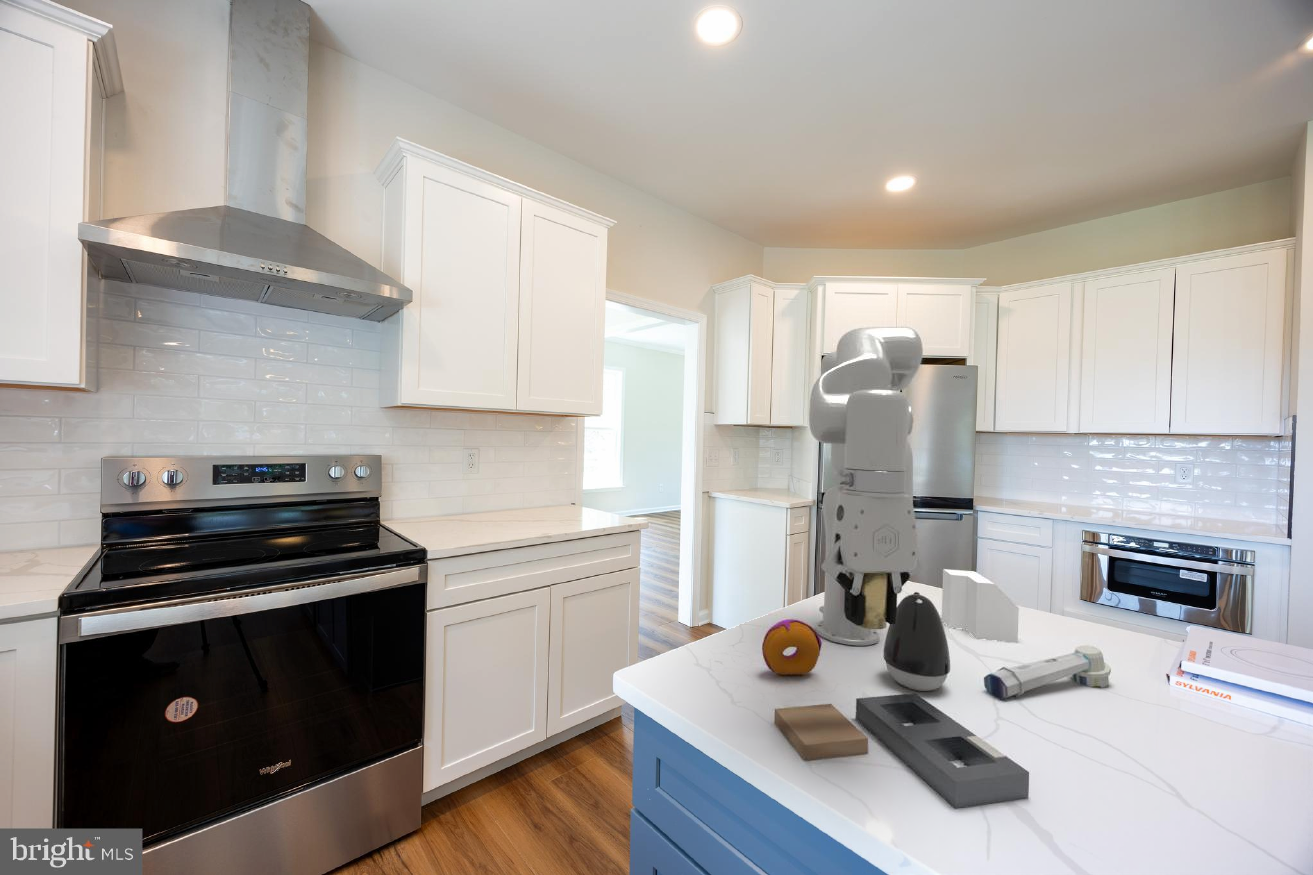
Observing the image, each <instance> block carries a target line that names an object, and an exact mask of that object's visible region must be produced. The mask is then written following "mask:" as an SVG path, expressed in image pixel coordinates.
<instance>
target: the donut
mask: <svg viewBox="0 0 1313 875" xmlns="http://www.w3.org/2000/svg"><path fill="white" fill-rule="evenodd" d="M820 637H821V636H820V635H819V634H818V633H817V632H816V629H814V628H813V627H812V626H811V625H810V624H808V623H807V622H804V621H802V620H800V619H799V620H798V619H795V618H790V619H789V618H788V619H784V620H781V621H779V622H776V623H775V624H774V625H772V626H771V627H770V628H769V629H768V630H767V632H766V634H765V635H764V637H763V641H762V646H761V649H762V650H761V651H762V657H763V660H764V663H765V665H766V666H767V668H768V670H771V672H773V673H776V674H778V675H784V676H785V675H788V676H790V675H800V676H801V675H807V674H809V673H810V672H812V671H813V670H814V668H815V666H816V665H817V662H818V660H819V657H820V655H821V648H822V644H823V642H822V639H821V638H820ZM789 648H796V649H795V651H794V652H793V653H792V654H789V655H786V654H784V652H785V651H786V650H787V649H789Z"/></svg>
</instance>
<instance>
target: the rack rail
mask: <svg viewBox="0 0 1313 875" xmlns="http://www.w3.org/2000/svg"><path fill="white" fill-rule="evenodd" d="M855 719H856V720H857V721H858V723H860V724H861V725H862V726H863V727H864V728H865V729H866V730H867V731H869V733H870V734H872V735H873V736H875V738H876V739H878V740H879V741H880V742H881V743H882V744H883V746H885V747H886V748H887V749H889V750H890V751H891V752H892V753H893V755H895V756H897V757H898V758H899V759H900V760H901V761H902V763H904V764H905V765H906V766H907V767H908V768H909V769H911V770H912V771H913V772H914V773H915V774H916V775H918V776H919V777H920V778H921V779H922V780H923V781H924V782H925V783H926V784H927V785H929V787H931V788H932V789H933V790H934V791H935V792H936V793H938V794H939V795H940V797H941V798H943V799H944V800H945V801H946V802H948V804H949V805H951V807H953V808H954V809H962V808H969V807H975V806H976V807H977V806H983V805H987V804H988V805H989V804H996V803H1004V802H1010V801H1016V800H1024V799H1029V795H1030V794H1029V793H1030V792H1029V789H1030V771H1028V770H1027V769H1025V768H1024V767H1022V766H1021V765H1020V764H1018V763H1017V762H1015V761H1014V760H1012V759H1011V758H1009V757H1008V756H1007V755H1005V754H1004V753H1002V752H1001V751H999V750H998V749H996V747H994V746H992V745H991V744H989V743H987V741H985V740H983V739H982V738H981V737H980V736H977V735H976V734H975V733H973V731H970V730H969V729H967V728H966V727H965V726H963V725H962V724H960V722H957V720H954V719H953V718H952V717H950V716H949V715H947V714H946V713H945V712H943V711H942V710H940V709H938V708H937V707H935V706H934V705H933V704H931V703H930V702H928V701H927V700H926V699H924V698H923V697H921V696H920V695H919V694H917V693H915V692H914V693H913V692H912V693H902V694H891V695H880V696H870V697H858V698H855ZM905 723H912V724H911V725H905ZM955 760H960V761H961V762H962V763H964V764H965V765H966V766H961V767H957V766H956V765H955V764H954V763H952V762H951V761H955Z"/></svg>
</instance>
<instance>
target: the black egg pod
mask: <svg viewBox="0 0 1313 875" xmlns="http://www.w3.org/2000/svg"><path fill="white" fill-rule="evenodd" d="M882 654H883V657H882V658H883V660H884V661H885V666H886V668H887V671H888V673H889V674H890V676H891V677H892V678H893V679H894V680H895V681H896V682H897V683H898V684H899V685H902V686H904V687H905V688H907V689H910V690H914V691H919V692H927V691H929V692H930V691H934V690H937V689H939V688H940V687H941V686H942V685H943V684H944V683H945V681H946V679H947V677H948V674H949V673H950V672H951V658H950V657H951V656H950V650H949V645H948V640H947V636H946V631H945V628H944V625H943V621H942V617H941V616H940V614H939V611H938V609H937V608H936V606H935V604H934V603H933V601H931V599H930V598H928V597H926V596H924V595H922V594H920V592H918V591H914V593H912V594H909V595H906V596H905V597H903V598H902V599H901V601H900V602H899V603H898V604H897V613H896V622H895V624H889V626H888V629H887V632H886V636H885V641H884V646H883V653H882Z"/></svg>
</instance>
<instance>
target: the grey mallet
mask: <svg viewBox="0 0 1313 875" xmlns="http://www.w3.org/2000/svg"><path fill="white" fill-rule="evenodd" d="M1111 671H1112V669H1111V666H1109V664H1107V663H1106V662H1105V659H1104V654H1103V653H1102V651H1101V649H1100V648H1098V647H1095V646H1092V645H1079V646H1076V647H1075V650H1074V652H1072V653H1068V654H1067V653H1066V654H1063V655H1059V656H1055V657H1051V658H1046V659H1042V660H1037V661H1034V662H1033V661H1031V662H1029V663H1025V664H1019V665H1015V666H1012V667H1011V666H1010V667H1007V666H1002V667H1001V668H1000V669H997V670H996V671H995V672H992V673H988V674H987V675H985V676H984V677H983V686H984V688H985V690H986V692H988V694H990V695H991V696H993V697H995V698H997V699H999V700H1003V699H1007V698H1010V697H1015V698H1018V697H1020V696H1021V695H1024V694H1025V692H1027V691H1030V690H1033V689H1035V688H1038V687H1042V686H1044V685H1047V684H1051V683H1054V681H1055V682H1056V681H1058V680H1061V679H1064V678H1067V677H1069V676H1071V679H1072V680H1073V681H1074V682H1075V683H1077V684H1080V685H1082V686H1086V687H1090V688H1093V687H1099V688H1102V689H1103V688H1105V687H1108V686H1109V685H1108V684H1109V682H1110V681H1109V680H1110V679H1109V678H1110V677H1109V676H1110V675H1111Z"/></svg>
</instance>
